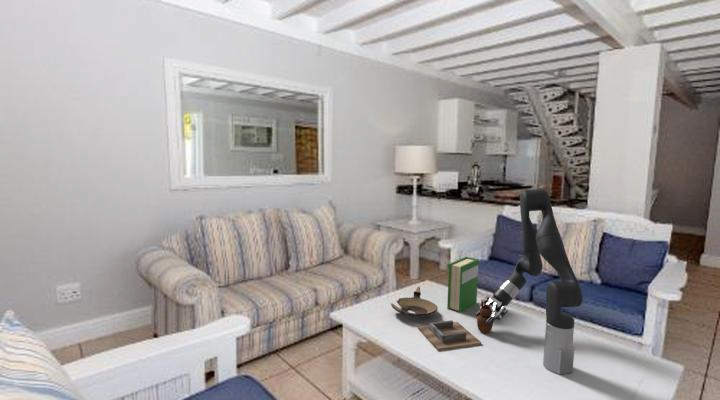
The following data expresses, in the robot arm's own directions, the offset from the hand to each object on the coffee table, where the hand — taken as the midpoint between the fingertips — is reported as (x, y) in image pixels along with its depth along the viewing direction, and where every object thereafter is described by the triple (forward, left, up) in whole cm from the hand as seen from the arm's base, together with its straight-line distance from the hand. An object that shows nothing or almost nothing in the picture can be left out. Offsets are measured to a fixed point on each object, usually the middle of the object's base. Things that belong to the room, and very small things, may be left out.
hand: (482, 320), depth 172 cm
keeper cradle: (0, +16, -5) cm, 17 cm away
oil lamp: (+27, +19, -6) cm, 34 cm away
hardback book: (+28, -7, -6) cm, 29 cm away
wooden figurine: (0, -2, -6) cm, 6 cm away
